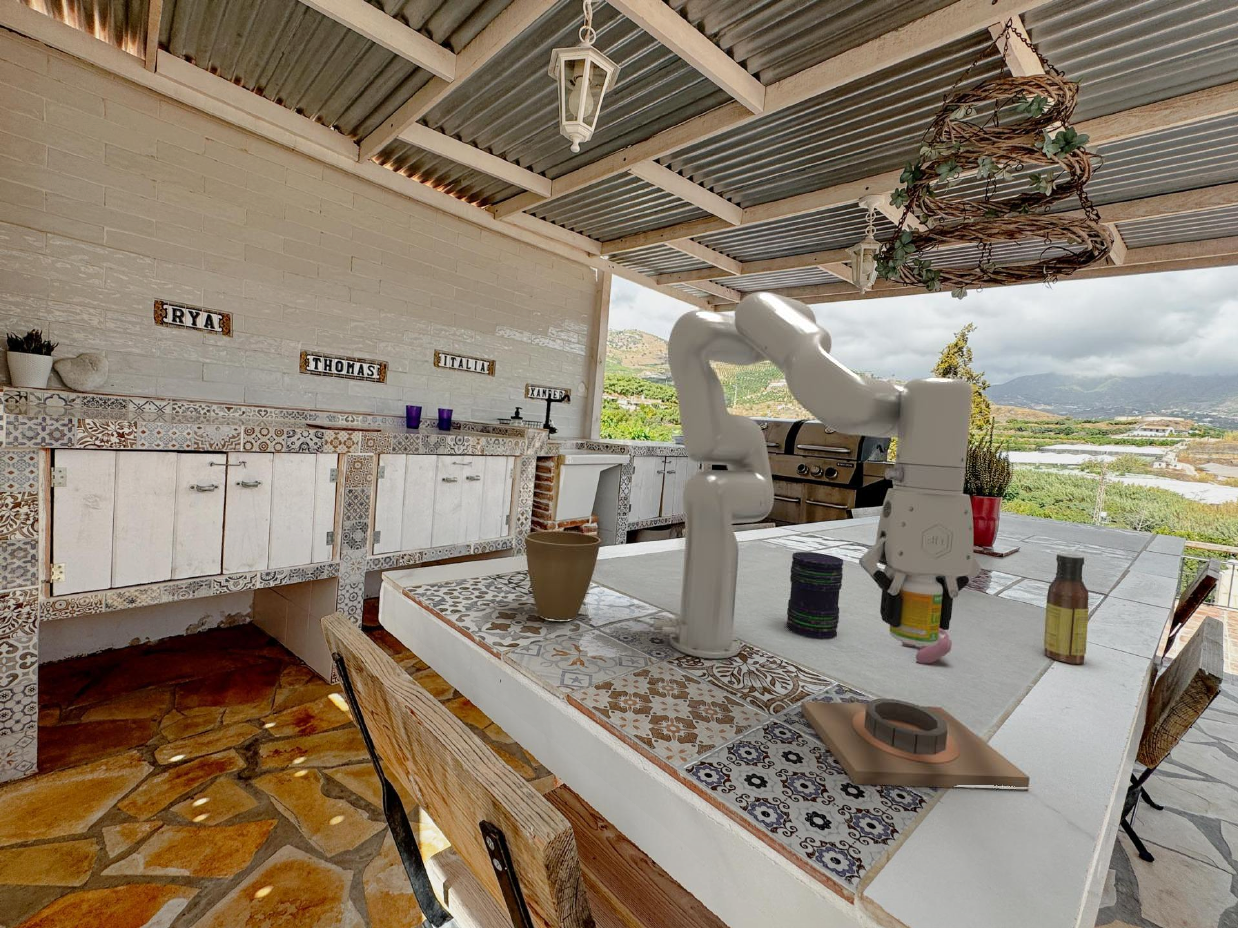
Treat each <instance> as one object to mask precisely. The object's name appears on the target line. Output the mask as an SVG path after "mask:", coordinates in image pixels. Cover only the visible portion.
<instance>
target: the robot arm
mask: <svg viewBox="0 0 1238 928" xmlns="http://www.w3.org/2000/svg"><path fill="white" fill-rule="evenodd" d="M831 349H832V338H831V335H830V333H829V331H827V330H826V329H825V328H824V327H822V326H821V325H819V324H818V323H817V318H816V315H815V314H814V311H813V310H812V309H811V307H809V306H808V305H807V304H806V303H804V302H803V301H800V300H796V299H794V298H790V297H787V296H784V295H780V294H776V293H775V292H774V293H773V292H769V291H758V292H757V291H756V292H752V293H751V294H748V295H747V296H745V297H743V298H742V300H740V301H739V302H738V304H737V306H736V308H735V310H734V314H733V316H732V315H729V314H726V313H722V312H717V311H713V310H703V309H697V310H696V309H695V310H691V311H687V312H686V313H684V314H682V315H681V316H680V317H679V318H678V319H677V320H676V321H675V323H674V325H673V327H672V329H671V331H670V334H669V338H668V344H667V360H668V367H669V370H670V371H669V372H670V373H671V377H672V381H673V384H674V387H675V391H676V396H677V397H676V398H677V404H678V405H677V406H678V412H679V419H680V426H681V427H680V428H681V434H682V441H683V446H684V450H685V453H686V455H687V457H688V458H689V460H691V461H692V462H694V463H697V464H702V465H719V466H720V465H721V466H726V467H727V469H725V470H722V469H721V470H719V469H718V470H716V469H712V470H711V469H709V470H703V471H700V472H697V473H694V475H692V476H691V477H690V478H689V479H688V480H687V481H686V483H685V485H684V486H683V487H684V488H683V492H682V507H683V513H684V526H685V534H684V535H685V538H684V539H685V540H684V553H683V555H684V556H683V571H682V572H683V573H682V586H681V587H682V588H681V598H680V600H681V601H680V612H679V613H677V614H675V615H676V617H675V618H671V619H670V620H664V619H655V618H654V619H653V624H652V625H653V626H652V627H653V631H661V635H669V643H670V646H672V647H673V648H674V649H676V650H677V651H679V652H681V653H684V654H686V655H690V656H691V657H692V656H693V657H697V658H702V659H714V660H715V659H728V658H731V657H734V656H737V655H738V654H739V653H740V652H741V646H742V644H741V641H740V640H739V639H738V638H737V637H735V635H733V634H734V633H733V631H734V623H735V622H734V619H735V607H736V597H737V596H736V594H737V581H738V580H737V579H738V571H739V570H738V569H739V552H740V551H739V544H738V543H739V542H738V540H737V538H736V535H735V532H734V528H733V526H732V525H733V524H744V523H745V524H746V523H755V522H756V523H757V522H759V521H762V520H764V519H765V518H766V517H768V516H769V514H770V513H771V511H772V509H773V506H774V501H775V491H774V483H773V477H772V471H771V466H770V460H769V453H768V448H767V447H768V446H767V442H766V439H765V438H766V437H765V435H764V431H763V430H762V428H761V427H760V425H759V424H758V423H757V422H756V421H755V419H752V418H751V417H748V416H745V415H740V414H731V413H730V412H729V411H728V407H727V405H726V400H725V393H724V388H723V385H722V382H721V380H720V378H719V376H718V375H717V374H716V372H715V371H714V369H713V368H712V366H711V364H710V361H713V362H717V363H718V362H719V363H723V364H728V365H735V366H736V365H737V366H750V365H754V364H758V363H762V362H766V361H768V362H770V363H771V364H773V366H774V367H776V368H777V369H778V370H779V371H780V372H782V373H783V374H784V378H785V383H786V386H787V388H788V390H789V393H790V394H791V396H792V397H793V399H794V400H795V401H797V403H798V404H799V405H801V406H802V407H803V408H804V409H805V410H806V411H807V412H808V413H810V415H812V416H813V417H814V418H815V419H816V420H818V421H819V422H820V423H822V425H824V426H826V427H827V428H829V429H831V430H832V431H835V432H837V433H840V434H843V435H852V436H864V437H865V436H866V437H872V438H882V439H883V438H885V439H886V438H897V441H896V451H895V452H896V453H895V463H894V464H893V467H892V468H889V467H888V468H886V469H885V471H884V478H885V479H886V480H891V481H892V486H893V487H892V488H888V489H887V491H886V495H885V498H884V499H883V504H882V507H881V511H880V512H881V513H880V516H879V521H878V525H877V526H878V527H877V531H876V540H875V543H874V544H873V545H872V546H871V547H870V548H869V549H868V550H867V551H866V552H865V553H864V554H863V555H862V556H861V557H860V558H859V559H858V564H859V565H860V566H861V568H862V569H863V570H864V571H865V572H866V573H868V575H869V576H870V577H871V578H872V579H873V581H874V582H875V583H876V584H877V587H878V588H879V589H880V590H881V598H880V608H879V609H880V611H879V612H880V616H881V620H882V621H883V622H884V623H886V624H888V625H889V626H890V625H891V626H892V627H897V628H898V627H899V626H900V623H901V612H902V602H903V598H902V596H901V595H899V594H898V593H899V590H900V588H901V585H902V583H903V581H904V578H905V576H906V574H916V575H934V576H937V577H935V581H937V582H939V583H940V584H941V586H942V588H943V594H942V605H941V616H940V626H939V628H941V629H943V630H945V631H948V630H949V629H950V622H951V619H952V613H953V602H954V599H956V598H958V596H959V595H960V591H962V589H964V588H965V587H966V586H967V585H968V584H969V582H970V581H972V580H973V579H974V578H976V577H977V576H978V575H979V574H980V573H982V567H981V565H980V564H979V563H978V562H977V560H976V559H975V557H974V519H973V518H974V517H973V508H972V501H971V497H970V494H966V493H964V484H965V475H966V474H965V473H966V466H967V465H966V464H967V453H968V445H969V444H968V443H969V434H970V423H971V411H972V402H973V401H972V400H973V388H972V387H971V385H970V384H969V383H968V382H967V381H965V380H962V379H959V378H950V377H922V378H915V379H911V380H909V381H907V383H897V382H892V381H886V380H884V379H883V380H881V379H877V378H874V377H869V376H862V375H859V374H857V373H855V372H853V371H852V370H850V369H849V368H848V367H846V366H845V365H843V364H842V363H840V362H839V361H838V360H837V359H835V358H834V357H833V356H832V355H830V352H831ZM878 564H880V565H882V566H885V567H884V569H883V570H881V569H880V567H879V565H878Z"/></svg>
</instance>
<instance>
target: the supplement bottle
mask: <svg viewBox="0 0 1238 928" xmlns="http://www.w3.org/2000/svg"><path fill="white" fill-rule="evenodd" d="M935 577H937V576H934V575H916V574H906V576H905V578H904V581H903V583H902V585H901V588H900V590H899V593H898V594H899V595H901V596H902V598H903V602H902V612H901V623H900V626H899V627H898V628H897V627H892V626H891V625H889V634H890V636H891V637H892V638H894V639H895V640H897V641H899V642H900V643H902V642H904V643H908V644H912V645H916V646H918V647H920V646H934V645H936V644H937V643H938V637H939V626H940V616H941V605H942V594H943V588H942V586H941V584H940V583H939V582H937V581H935Z"/></svg>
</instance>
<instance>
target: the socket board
mask: <svg viewBox="0 0 1238 928" xmlns="http://www.w3.org/2000/svg"><path fill="white" fill-rule="evenodd" d="M800 713H801V714H802V715H803V716H804V717H805V719H806V720H807V722H808V723H809V724H810V726H811V727H812V728H813V730H814V731H815V733H816V734H817V736H818V737H820V739H821V740H822V742H823V743H824V745H825V747H827V748H828V750H829V751H830V752H831V754H832V755H833V757H834V758H835V759H836V761H837V762H838V763H839V765H840V766H841V768H843V770H844V771H845V773H846V774H847V775H848V777H849V779H850V780H851V781H852V782H853V783H854V785H869V786H871V785H872V786H874V785H875V786H877V785H878V786H897V787H898V786H900V787H901V786H903V787H926V788H927V787H929V788H952V787H954V786H957V785H994V786H996V785H997V786H1002V785H1003V786H1010V787H1011V786H1013V787H1014V786H1015V787H1030V776H1029V775H1028V774H1026V773H1025V772H1023V770H1021V769H1020V768H1018V767H1017V766H1016V765H1015V764H1013V763H1012V762H1011V761H1010V760H1008V758H1006V757H1005V756H1003V755H1002V754H1001V753H999V751H997V750H996V749H994V748H993V747H992V746H991V745H989V744H988V743H987V742H986V741H984V740H983V739H982V738H981V737H979V736H978V735H977V734H975V732H974V731H971V729H969V728H968V727H967V726H965V725H964V724H963V723H962V722H960V721H959V720H958V719H957V718H955V717H954V716H953V715H951V714H950V713H949V712H947V711H946V709H944V708H943V707H942V706H924V705H923V706H922V705H918V704H916V703H913V702H907V701H904V700H900V699H895V698H875V699H872V700H870V701H867V702H866V703H851V702H850V703H849V702H830V701H829V702H825V701H824V702H823V701H809V700H808V701H801V712H800Z"/></svg>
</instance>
